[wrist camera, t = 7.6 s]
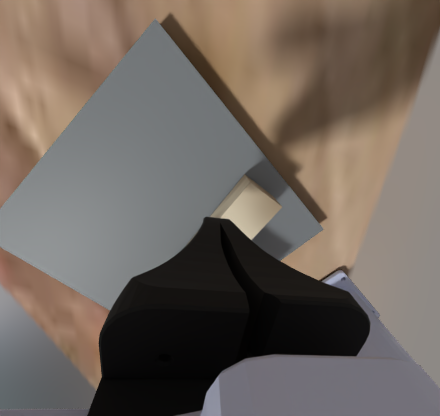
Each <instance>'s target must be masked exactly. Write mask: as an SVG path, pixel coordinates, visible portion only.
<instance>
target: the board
mask: <svg viewBox="0 0 440 416" xmlns="http://www.w3.org/2000/svg"><path fill="white" fill-rule="evenodd" d="M244 175H246V176H248V177H249V178H250V179H251V180H253V181H254V182H255V183H257V184H258V185H259V186H260V187H262V188H263V189H264V190H266V191H267V192H268V193H269V194H271V195H272V196H273V197H274V198H275V199H276V200H277V201H278V202H279V204H280V205H281V206H282V208H281V209H280V210H279V211H278V212H277V213H276V214H275V215H274V217H273V218H272V219H271V220H270V221H269V222H268V223H267V224H266V225H265V226H264V227H263V228H262V229H261V230H260V232H259V233H258V234H257V235H256V236H255V237H254V238H253V239H252V241H253V242H254V243H255V244H256V245H258V246H259V247H260V248H261V249H263V250H264V251H265V252H267V253H268V254H270V255H271V256H273V257H274V258H276V259H277V260H279V261H280V260H282V259H283V258H285V257H286V256H287V255H289V254H290V253H292V252H293V251H294V250H296V249H297V248H298V247H300V246H301V245H303V244H304V243H305V242H307V241H308V240H310V239H311V238H312V237H314V236H315V235H316V234H318V233H319V232H321V231H322V230H323V228H322V227H321V225H320V224H319V223H318V222H317V220H316V219H315V218H314V217H313V215H312V214H311V213H310V212H309V210H308V209H307V208H306V207H305V205H304V204H303V203H302V201H301V200H300V199H299V198H298V196H297V195H296V194H295V193H294V191H293V190H292V189H291V188H290V186H289V185H288V184H287V183H286V181H285V180H284V179H283V178H282V176H281V175H280V174H279V173H278V171H277V170H276V169H275V168H274V166H273V165H272V164H271V163H270V161H269V160H268V159H267V158H266V156H265V155H264V154H263V153H262V151H261V150H260V149H259V148H258V146H257V145H256V144H255V143H254V141H253V140H252V139H251V138H250V136H249V135H248V134H247V133H246V131H245V130H244V129H243V128H242V126H241V125H240V124H239V123H238V121H237V120H236V119H235V118H234V116H233V115H232V114H231V113H230V111H229V110H228V109H227V108H226V106H225V105H224V104H223V103H222V101H221V100H220V99H219V98H218V96H217V95H216V94H215V93H214V91H213V90H212V89H211V88H210V86H209V85H208V84H207V83H206V81H205V80H204V79H203V78H202V76H201V75H200V74H199V73H198V71H197V70H196V69H195V68H194V66H193V65H192V64H191V63H190V61H189V60H188V59H187V58H186V56H185V55H184V54H183V53H182V51H181V50H180V49H179V48H178V46H177V45H176V44H175V43H174V41H173V40H172V39H171V38H170V36H169V35H168V34H167V33H166V31H165V30H164V29H163V28H162V26H161V25H160V24H159V23H158V21H157V20H156V19H154V21H153V22H152V23H151V24H150V26H149V27H148V28H147V29H146V30H145V32H144V33H143V34H142V35H141V37H140V38H139V39H138V40H137V41H136V43H135V44H134V45H133V46H132V48H131V49H130V50H129V51H128V53H127V54H126V55H125V56H124V57H123V59H122V60H121V61H120V62H119V64H118V65H117V66H116V67H115V69H114V70H113V71H112V72H111V73H110V75H109V76H108V77H107V78H106V80H105V81H104V82H103V83H102V84H101V86H100V87H99V88H98V89H97V91H96V92H95V93H94V94H93V96H92V97H91V98H90V99H89V100H88V102H87V103H86V104H85V105H84V107H83V108H82V109H81V110H80V111H79V113H78V114H77V115H76V116H75V118H74V119H73V120H72V121H71V123H70V124H69V125H68V126H67V127H66V129H65V130H64V131H63V132H62V134H61V135H60V136H59V137H58V138H57V140H56V141H55V142H54V143H53V145H52V146H51V147H50V148H49V150H48V151H47V152H46V153H45V154H44V156H43V157H42V158H41V159H40V161H39V162H38V163H37V164H36V166H35V167H34V168H33V169H32V170H31V172H30V173H29V174H28V175H27V177H26V178H25V179H24V180H23V181H22V183H21V184H20V185H19V186H18V188H17V189H16V190H15V191H14V193H13V194H12V195H11V196H10V197H9V199H8V200H7V201H6V202H5V204H4V205H3V206H2V207H1V208H0V247H1V248H3V249H5V250H6V251H8V252H10V253H12V254H13V255H15V256H17V257H19V258H20V259H22V260H24V261H25V262H27V263H29V264H31V265H32V266H34V267H36V268H38V269H39V270H41V271H43V272H44V273H46V274H48V275H50V276H51V277H53V278H55V279H57V280H58V281H60V282H62V283H63V284H65V285H67V286H69V287H70V288H72V289H74V290H76V291H77V292H79V293H81V294H82V295H84V296H86V297H88V298H89V299H91V300H93V301H95V302H96V303H98V304H100V305H101V306H103V307H105V308H107V309H108V310H111V308H112V306H113V305H114V303H115V301H116V300H117V298H118V297H119V295H120V293H121V292H122V290H123V289H124V288H125V286H126V285H127V283H128V282H129V281H130V279H131V278H132V277H134V276H137V275H140V274H142V273H144V272H147V271H149V270H151V269H154V268H156V267H158V266H159V265H161V264H163V263H165V262H166V261H168V260H170V259H171V258H172V257H174V256H175V255H176V254H177V253H179V252H180V251H181V250H182V249H183V248H184V247H185V246H186V245H187V244H188V243H189V241H190V240H191V239H192V238H193V237H194V235H195V234H196V233H197V232H198V230H199V229H200V227H201V225H202V223H203V218H205V217H210V216H211V215H212V213H213V212H214V211H215V210H216V209H217V207H218V206H219V205H220V204H221V203H222V201H223V200H224V199H225V198H226V196H227V195H228V194H229V193H230V192H231V190H232V189H233V188H234V187H235V185H236V184H237V183H238V182H239V181H240V179H241V178H242V177H243V176H244Z"/></svg>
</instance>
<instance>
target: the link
mask: <svg viewBox="0 0 440 416" xmlns="http://www.w3.org/2000/svg"><path fill="white" fill-rule="evenodd" d="M281 208H282V206H281V205H280V204H279V202H278V201H277V200H276V199H275V198H274V197H273V196H272V195H271V194H269V193H268V192H267V191H266V190H264V189H263V188H262V187H260V186H259V185H258V184H257V183H255V182H254V181H253V180H251V179H250V178H249V177H248V176H246V175H244V176H243V177H242V178H241V179H240V181H239V182H238V183H237V184H236V185H235V187H234V188H233V189H232V190H231V192H230V193H229V194H228V195H227V196H226V198H225V199H224V200H223V201H222V203H221V204H220V205H219V206H218V207H217V209H216V210H215V211H214V212H213V213H212V215H211V216H210V217H214V218H224V219H230V220H231V221H232V222H233V223H234V224H235V225H236V226H237V227H238V228H239V229H240V230H241V231H242V232H243V233H244V234H245V235H246V236H247V237H248V238H249V239H251V240H252V239H253V238H254V237H255V236H256V235H257V234H258V233H259V232H260V230H261V229H262V228H263V227H264V226H265V225H266V224H267V223H268V222H269V221H270V220H271V219H272V218H273V217H274V215H275V214H276V213H277V212H278V211H279V210H280V209H281ZM196 234H197V233H196ZM196 234H195V235H196ZM195 235H194V236H195ZM192 239H193V238H192ZM192 239H191V240H192ZM191 240H190V241H191ZM190 241H189V242H190Z"/></svg>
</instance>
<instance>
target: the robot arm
mask: <svg viewBox="0 0 440 416" xmlns="http://www.w3.org/2000/svg"><path fill="white" fill-rule="evenodd" d="M379 316H380V315H379V313H378V312H377V311H376V310H375V308H374V307H373V306H372V305H371V304H370V302H369V301H368V300H367V299H366V298H365V296H363V294H362V293H361V292H360V291H359V289H357V287H356V286H355V285H354V283H353V282H352V281H351V280H350V279H349V277H348V276H347V275H346V274H345V273H344V272H343V271H342V270H338V271H336V272H335V273H333V274H332V275H330V276H329V277H327V278H326V279H324V280H323V281H319V280H316V279H314V278H312V277H310V276H307V275H305V274H303V273H301V272H299V271H297V270H295V269H293V268H291V267H289V266H288V265H286V264H284V263H282V262H281V261H279V260H277V259H276V258H274V257H273V256H271V255H270V254H268V253H267V252H265V251H264V250H263V249H261V248H260V247H259V246H258V245H256V244H255V243H254V242H253V241H252V240H251V239H249V238H248V237H247V236H246V235H245V234H244V233H243V232H242V231H241V230H240V229H239V228H238V227H237V226H236V225H235V224H234V223H233V222H232V221H231V220H230V219H224V218H214V217H205V218H203V223H202V225H201V227H200V229H199V230H198V232H197V234H196V235H195V236H194V237H193V239H192V240H191V241H190V242H189V243H188V244H187V245H186V246H185V247H184V248H183V249H182V250H181V251H180V252H179V253H177V254H176V255H175V256H174V257H172V258H171V259H170V260H168V261H166V262H165V263H163V264H161V265H159V266H158V267H156V268H154V269H151V270H149V271H147V272H144V273H142V274H140V275H137V276H134V277H132V278H131V279H130V281H129V282H128V283H127V285H126V286H125V288H124V289H123V290H122V292H121V293H120V295H119V297H118V298H117V300H116V301H115V303H114V305H113V306H112V308H111V310H110V312H109V314H108V317H107V319H106V321H105V323H104V325H103V328H102V330H101V332H100V337H99V352H100V362H101V372H102V378H101V381H100V383H99V386H98V389H97V391H96V394H95V397H94V399H93V402H92V404H91V407H90V409H0V416H440V388H439V387H438V386H437V385H436V383H435V382H434V381H433V380H432V379H431V378H430V376H429V375H428V374H427V373H426V372H425V371H424V369H422V367H421V366H420V365H418V364H417V363H416V362H415V361H414V360H413V358H412V357H411V356H410V355H409V354H408V353H407V351H406V350H405V349H404V348H403V347H402V346H401V345H400V343H399V342H398V341H397V340H396V339H395V337H394V336H393V335H392V334H391V333H390V332H389V330H388V329H387V328H386V327H385V326H384V325H383V324H382V322H381V321H380V320H379V319H378V318H379Z"/></svg>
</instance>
